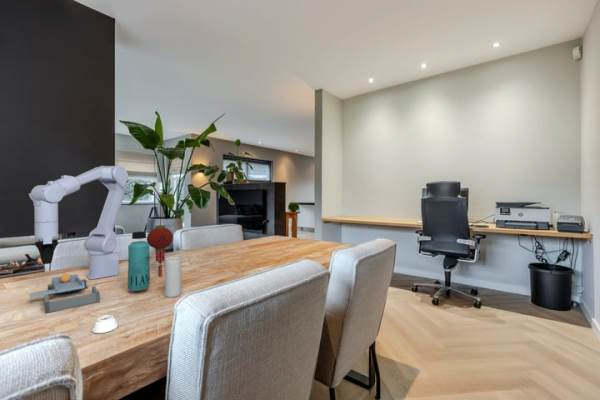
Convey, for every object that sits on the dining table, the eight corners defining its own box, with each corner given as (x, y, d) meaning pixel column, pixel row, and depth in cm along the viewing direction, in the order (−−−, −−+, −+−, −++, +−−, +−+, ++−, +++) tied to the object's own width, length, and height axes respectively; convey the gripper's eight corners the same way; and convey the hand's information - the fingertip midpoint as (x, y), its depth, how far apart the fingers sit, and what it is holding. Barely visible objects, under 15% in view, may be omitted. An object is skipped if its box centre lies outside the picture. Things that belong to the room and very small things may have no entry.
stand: (86, 285, 98) (86, 278, 98) (87, 288, 95) (87, 280, 95) (46, 292, 91) (46, 284, 91) (46, 295, 88) (46, 287, 88)
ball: (70, 282, 100) (70, 273, 101) (71, 280, 98) (71, 272, 99) (59, 283, 98) (59, 275, 99) (60, 282, 96) (60, 273, 97)
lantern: (175, 277, 109) (175, 200, 109) (147, 281, 104) (148, 200, 103) (170, 271, 117) (171, 200, 117) (145, 275, 112) (145, 200, 111)
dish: (94, 294, 90) (94, 285, 90) (99, 302, 84) (99, 292, 84) (44, 304, 82) (44, 294, 82) (45, 313, 75) (45, 303, 75)
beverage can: (184, 294, 91) (184, 257, 91) (173, 299, 87) (173, 260, 87) (172, 292, 93) (172, 256, 93) (161, 297, 88) (161, 259, 88)
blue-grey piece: (77, 282, 102) (77, 274, 102) (84, 288, 89) (84, 279, 89) (29, 290, 93) (29, 281, 94) (29, 298, 81) (29, 287, 81)
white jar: (122, 326, 69) (107, 323, 70) (122, 314, 69) (107, 312, 70) (103, 336, 64) (87, 333, 66) (103, 323, 64) (87, 320, 66)
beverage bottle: (126, 296, 88) (126, 233, 88) (128, 290, 94) (128, 230, 94) (149, 293, 91) (150, 232, 91) (150, 287, 97) (150, 230, 97)
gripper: (29, 220, 94) (29, 261, 94) (29, 224, 84) (29, 269, 84) (57, 219, 99) (57, 258, 99) (60, 222, 88) (60, 265, 89)
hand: (46, 263), depth 92 cm, fingers closed
